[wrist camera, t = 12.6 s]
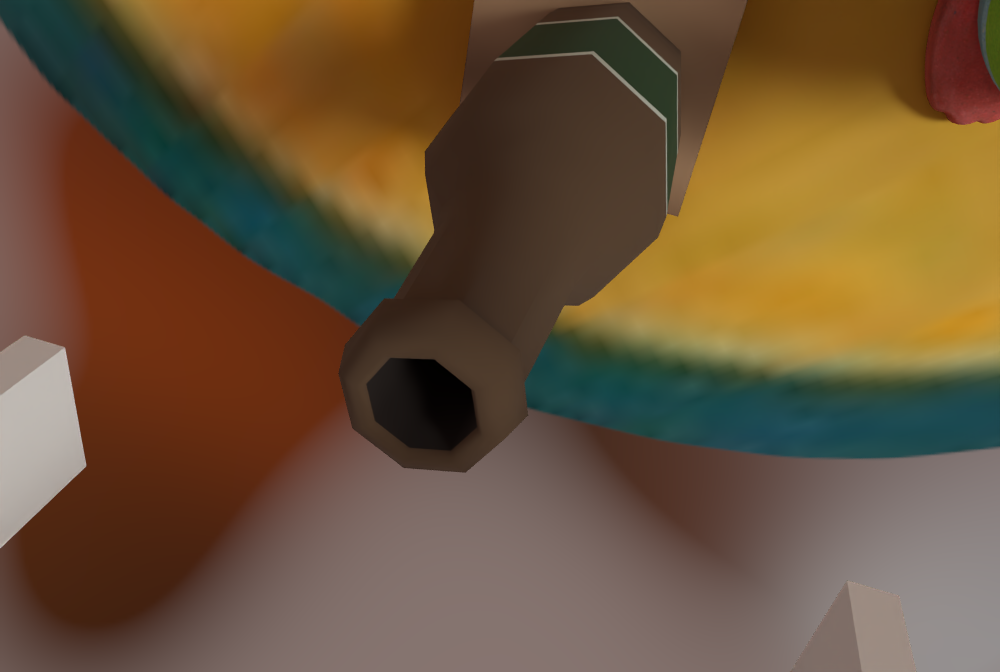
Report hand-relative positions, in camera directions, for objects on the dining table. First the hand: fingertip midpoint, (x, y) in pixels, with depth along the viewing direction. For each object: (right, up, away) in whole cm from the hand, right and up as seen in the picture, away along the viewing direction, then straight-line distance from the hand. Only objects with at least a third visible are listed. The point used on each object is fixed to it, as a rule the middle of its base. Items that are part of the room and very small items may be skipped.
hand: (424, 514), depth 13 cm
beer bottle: (+6, +14, +21) cm, 26 cm away
